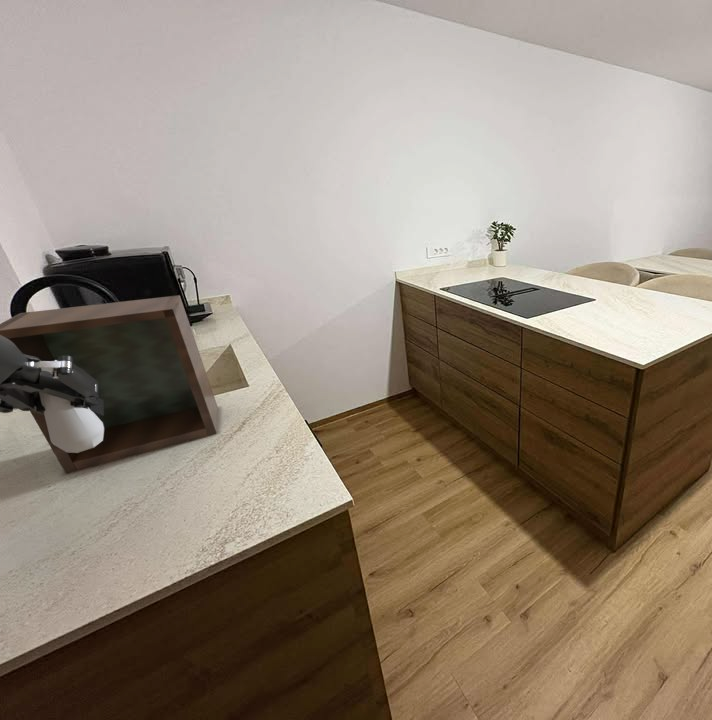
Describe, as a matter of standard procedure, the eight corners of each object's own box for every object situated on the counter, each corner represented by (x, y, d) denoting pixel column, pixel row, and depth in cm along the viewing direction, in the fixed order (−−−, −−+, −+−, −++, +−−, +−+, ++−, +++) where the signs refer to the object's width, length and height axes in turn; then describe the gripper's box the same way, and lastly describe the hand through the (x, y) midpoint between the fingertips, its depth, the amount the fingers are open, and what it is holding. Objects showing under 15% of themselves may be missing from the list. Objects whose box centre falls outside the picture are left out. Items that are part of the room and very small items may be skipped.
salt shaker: (49, 452, 57) (4, 375, 52) (94, 431, 62) (58, 360, 57) (74, 459, 55) (30, 381, 50) (118, 437, 60) (83, 364, 55)
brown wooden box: (65, 474, 71) (-16, 332, 60) (86, 439, 81) (19, 313, 70) (216, 434, 83) (172, 308, 71) (218, 408, 93) (179, 295, 81)
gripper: (-183, 400, 36) (15, 446, 56) (45, 369, 42) (148, 421, 62) (-165, 330, 38) (19, 399, 58) (48, 310, 44) (147, 379, 64)
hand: (85, 410), depth 60 cm, fingers closed on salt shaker, 3 cm apart
